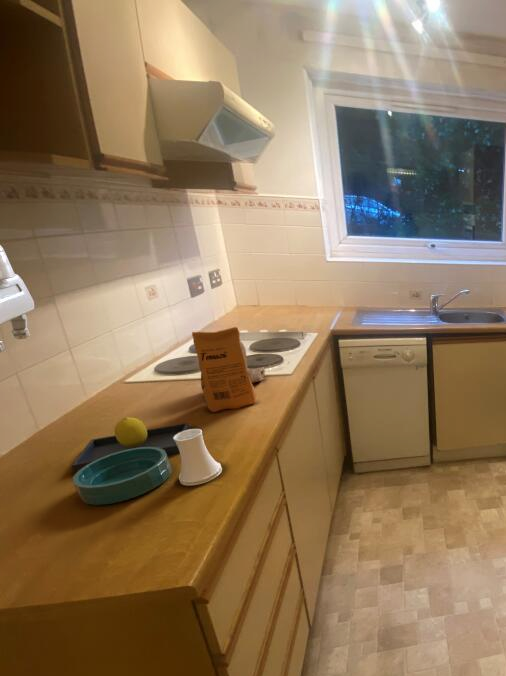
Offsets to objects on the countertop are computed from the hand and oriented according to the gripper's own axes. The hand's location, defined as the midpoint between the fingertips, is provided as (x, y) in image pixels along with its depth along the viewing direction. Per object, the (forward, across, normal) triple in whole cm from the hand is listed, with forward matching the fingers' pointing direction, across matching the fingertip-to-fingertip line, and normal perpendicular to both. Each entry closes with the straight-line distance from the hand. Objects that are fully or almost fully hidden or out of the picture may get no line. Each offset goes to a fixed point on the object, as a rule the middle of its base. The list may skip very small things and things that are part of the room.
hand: (11, 344), depth 82 cm
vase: (+29, +13, +25) cm, 41 cm away
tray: (+29, -6, +10) cm, 31 cm away
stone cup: (+29, -40, +29) cm, 57 cm away
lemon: (+29, -6, +10) cm, 31 cm away
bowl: (+29, +10, +12) cm, 33 cm away
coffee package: (+29, -25, +28) cm, 48 cm away
